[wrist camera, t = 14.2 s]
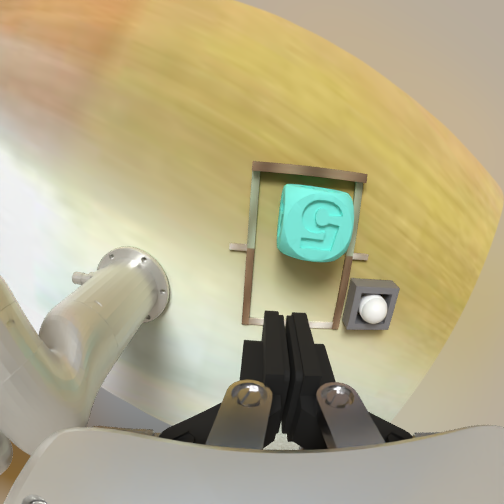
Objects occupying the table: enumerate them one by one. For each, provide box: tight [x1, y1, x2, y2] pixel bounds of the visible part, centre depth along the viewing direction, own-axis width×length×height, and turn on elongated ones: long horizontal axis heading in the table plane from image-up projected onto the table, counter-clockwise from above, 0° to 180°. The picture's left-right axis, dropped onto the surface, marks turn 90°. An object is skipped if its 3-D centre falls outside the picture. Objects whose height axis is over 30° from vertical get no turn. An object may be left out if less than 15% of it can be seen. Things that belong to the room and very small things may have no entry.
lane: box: [229, 161, 368, 329], centre depth 40 cm, size 20×24×2 cm
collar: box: [342, 278, 400, 330], centre depth 41 cm, size 7×7×3 cm
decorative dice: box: [277, 184, 354, 262], centre depth 36 cm, size 8×8×8 cm
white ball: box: [358, 293, 387, 324], centre depth 40 cm, size 4×4×4 cm
